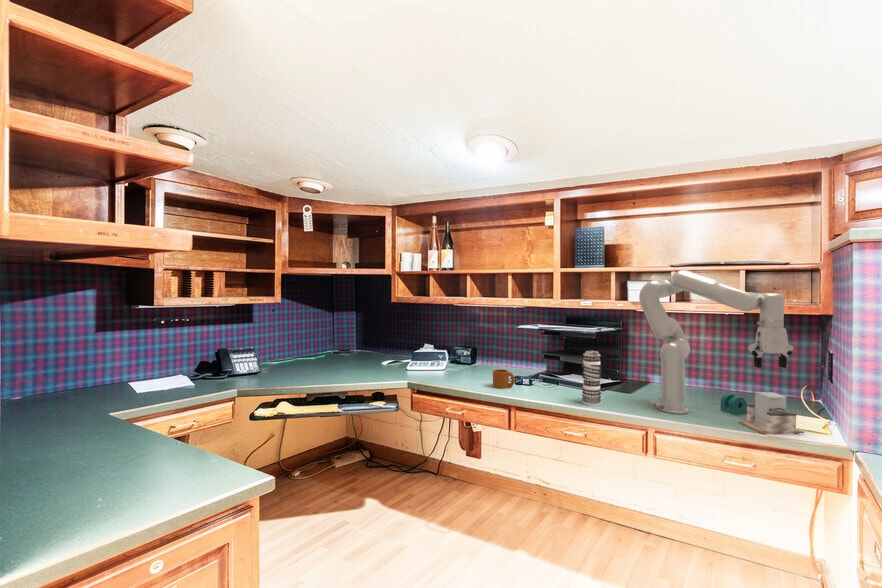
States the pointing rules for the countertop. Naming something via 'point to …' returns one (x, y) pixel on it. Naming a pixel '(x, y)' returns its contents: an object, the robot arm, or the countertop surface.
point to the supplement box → (768, 405)
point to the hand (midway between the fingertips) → (770, 367)
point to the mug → (502, 379)
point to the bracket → (733, 404)
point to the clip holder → (772, 422)
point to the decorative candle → (591, 378)
